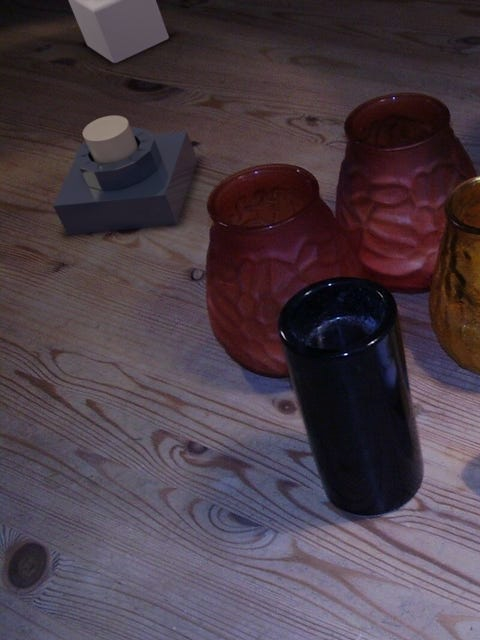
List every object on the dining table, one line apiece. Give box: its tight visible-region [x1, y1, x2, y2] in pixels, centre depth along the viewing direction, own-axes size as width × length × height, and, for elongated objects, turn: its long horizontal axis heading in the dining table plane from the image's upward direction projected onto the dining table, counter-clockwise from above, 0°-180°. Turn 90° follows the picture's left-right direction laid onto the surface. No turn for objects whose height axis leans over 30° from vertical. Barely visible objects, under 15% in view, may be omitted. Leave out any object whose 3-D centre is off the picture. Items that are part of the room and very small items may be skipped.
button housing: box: [52, 126, 198, 236], centre depth 91 cm, size 10×10×6 cm
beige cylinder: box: [82, 114, 138, 164], centre depth 88 cm, size 4×4×3 cm
